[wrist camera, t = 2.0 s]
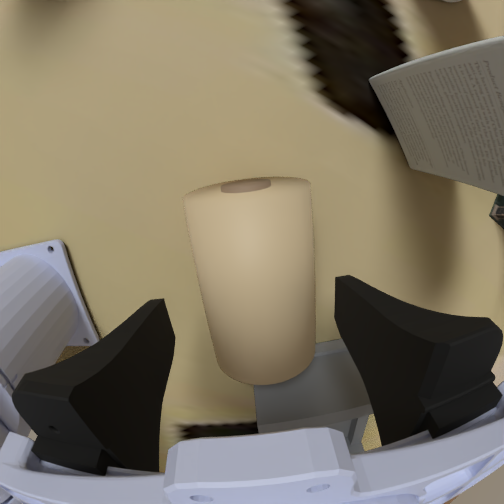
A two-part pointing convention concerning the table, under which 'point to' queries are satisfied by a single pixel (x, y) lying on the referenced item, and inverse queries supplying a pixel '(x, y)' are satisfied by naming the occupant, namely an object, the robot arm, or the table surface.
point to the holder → (318, 397)
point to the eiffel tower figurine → (498, 210)
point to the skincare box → (450, 112)
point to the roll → (256, 274)
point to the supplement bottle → (452, 0)
